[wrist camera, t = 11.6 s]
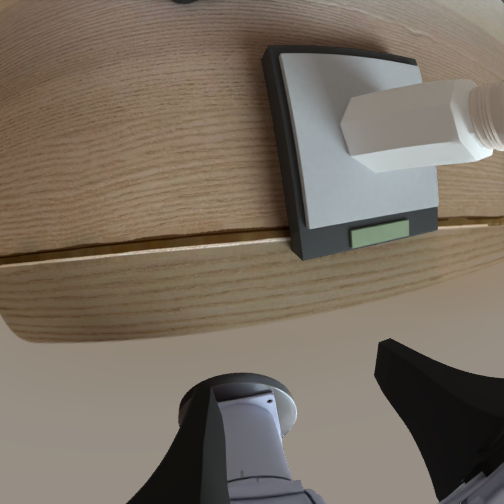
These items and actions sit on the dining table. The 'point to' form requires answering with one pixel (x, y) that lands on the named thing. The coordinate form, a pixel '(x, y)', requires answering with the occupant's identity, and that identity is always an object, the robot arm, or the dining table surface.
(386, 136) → the pepper shaker
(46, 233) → the dining table surface
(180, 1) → the phone
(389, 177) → the scale
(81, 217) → the dining table surface
